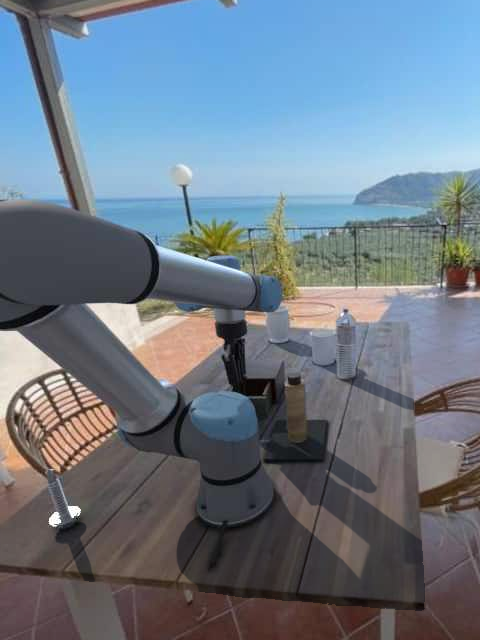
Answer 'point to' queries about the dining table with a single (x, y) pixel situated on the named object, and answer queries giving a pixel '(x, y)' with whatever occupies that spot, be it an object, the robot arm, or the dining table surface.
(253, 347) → the dining table surface
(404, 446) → the dining table surface
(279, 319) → the jar
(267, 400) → the drawer
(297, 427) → the pepper mill
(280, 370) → the cabinet
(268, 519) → the dining table surface
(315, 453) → the placemat
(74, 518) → the screw
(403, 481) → the dining table surface
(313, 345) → the candle holder
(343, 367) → the water bottle
